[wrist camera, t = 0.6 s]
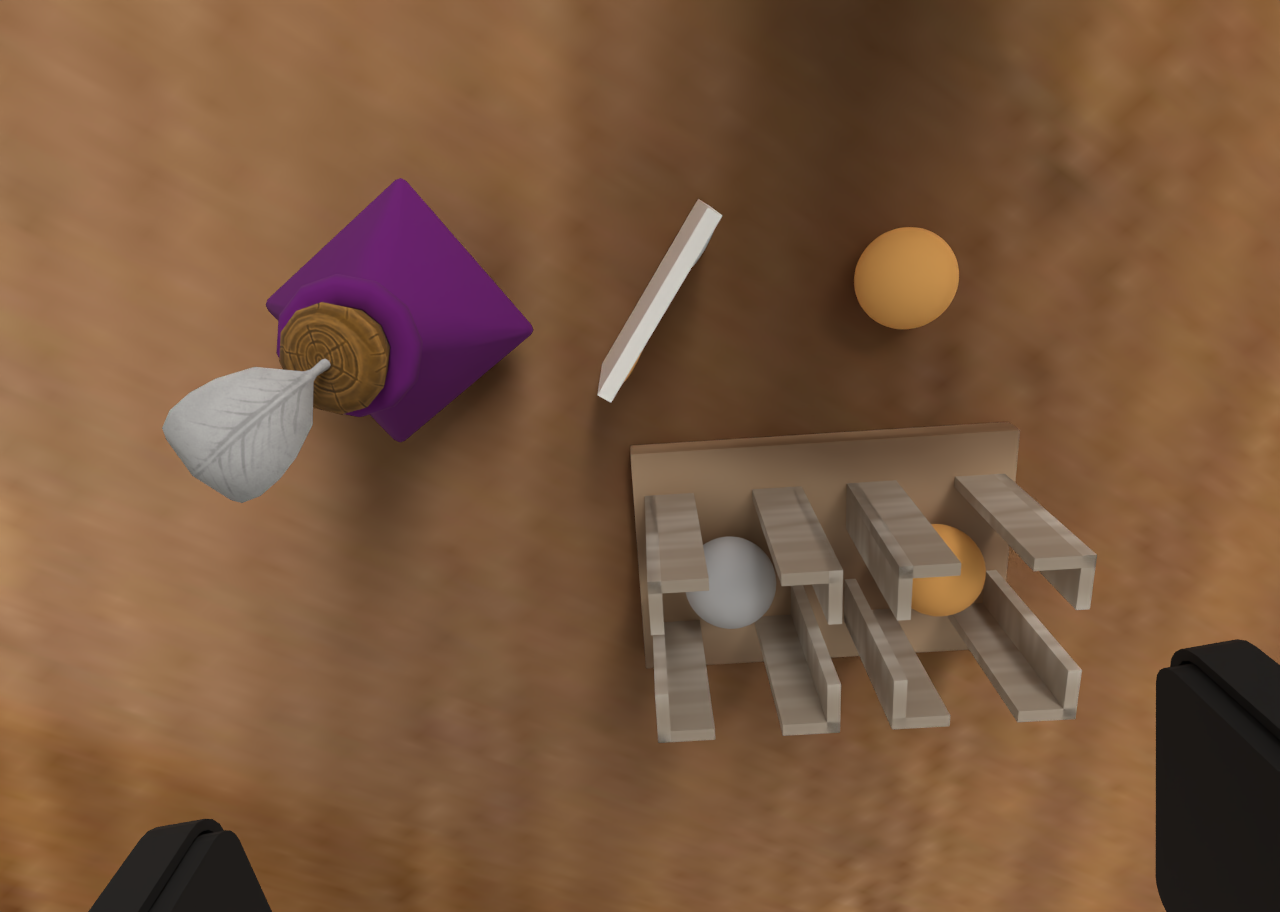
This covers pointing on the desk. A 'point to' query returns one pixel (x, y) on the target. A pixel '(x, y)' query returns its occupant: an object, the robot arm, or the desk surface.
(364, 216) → the purple potion bottle
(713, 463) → the ball rack
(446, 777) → the desk surface
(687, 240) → the card
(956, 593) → the seated orange ball
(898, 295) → the orange ball
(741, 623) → the grey ball
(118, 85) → the desk surface
